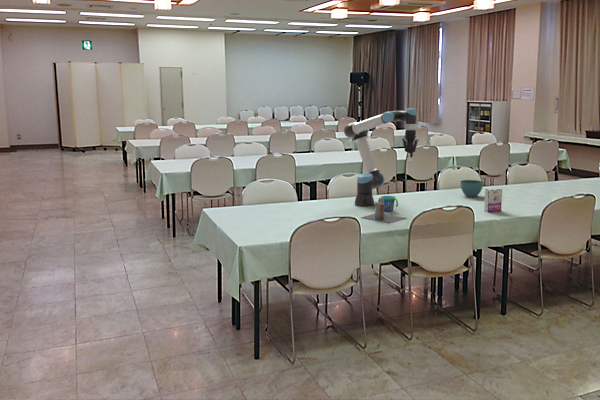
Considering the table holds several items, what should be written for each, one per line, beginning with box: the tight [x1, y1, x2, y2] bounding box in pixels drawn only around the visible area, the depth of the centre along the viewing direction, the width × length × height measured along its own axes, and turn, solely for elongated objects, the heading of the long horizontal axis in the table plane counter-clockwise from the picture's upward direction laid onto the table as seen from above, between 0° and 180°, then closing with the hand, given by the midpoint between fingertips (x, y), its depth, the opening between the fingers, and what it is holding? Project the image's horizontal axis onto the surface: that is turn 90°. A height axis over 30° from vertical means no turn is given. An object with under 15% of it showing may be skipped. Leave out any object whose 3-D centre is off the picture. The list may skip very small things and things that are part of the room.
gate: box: [380, 204, 385, 220], centre depth 397 cm, size 14×2×10 cm, turn 172°
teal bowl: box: [459, 179, 484, 198], centre depth 470 cm, size 18×18×12 cm
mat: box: [360, 213, 407, 224], centre depth 398 cm, size 24×20×1 cm
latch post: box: [374, 201, 380, 220], centre depth 391 cm, size 5×3×12 cm, turn 172°
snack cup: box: [377, 195, 399, 212], centre depth 421 cm, size 16×10×10 cm
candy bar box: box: [484, 187, 503, 213], centre depth 415 cm, size 11×5×16 cm, turn 105°
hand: (409, 161), depth 427 cm, fingers closed
